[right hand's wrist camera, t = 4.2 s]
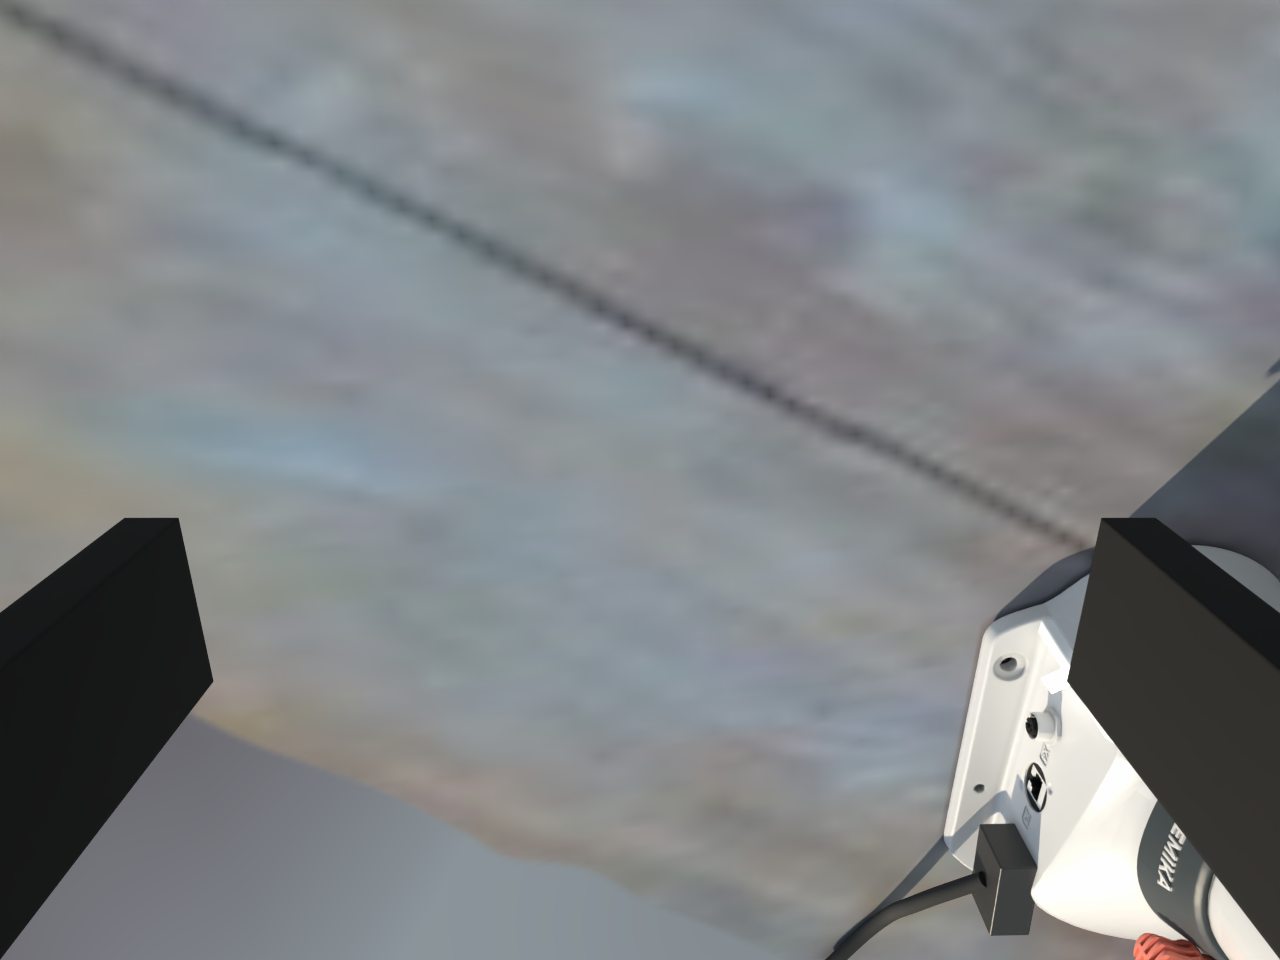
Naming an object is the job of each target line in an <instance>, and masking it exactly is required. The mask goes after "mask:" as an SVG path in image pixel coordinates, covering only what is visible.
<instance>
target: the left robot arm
mask: <svg viewBox="0 0 1280 960" xmlns="http://www.w3.org/2000/svg"><path fill="white" fill-rule="evenodd" d="M1192 546H1193V547H1194V548H1195V549H1197V550H1198V551H1199V552H1201V553H1202V554H1203V555H1205V556H1206V557H1207V558H1209V559H1210V560H1211V561H1212V562H1214V563H1215V564H1216V565H1218V566H1219V567H1220V568H1222V569H1223V570H1224V571H1226V572H1227V573H1228V574H1230V575H1231V576H1232V577H1233V578H1235V579H1236V580H1237V581H1239V582H1240V583H1241V584H1243V585H1244V586H1245V587H1247V588H1248V589H1249V590H1250V591H1252V592H1253V593H1254V594H1256V595H1257V596H1258V597H1260V598H1261V599H1262V600H1264V601H1265V602H1266V603H1268V604H1269V605H1270V606H1271V607H1273V608H1274V609H1275V610H1277V611H1278V612H1279V613H1280V581H1279V580H1278V579H1277V578H1276V577H1275V576H1274V575H1273V574H1272V573H1271V572H1270V571H1268V570H1267V569H1266V568H1265V567H1263V566H1262V565H1260V564H1259V563H1257V562H1255V561H1254V560H1252V559H1250V558H1248V557H1246V556H1243V555H1241V554H1238V553H1235V552H1232V551H1229V550H1225V549H1222V548H1216V547H1211V546H1202V545H1192ZM1088 579H1089V574H1088V575H1086V576H1085V577H1083V578H1082V579H1080V580H1079V581H1077V582H1076V583H1075V584H1073V585H1072V586H1070V587H1069V588H1068V589H1066V590H1065V591H1063V592H1062V593H1061V594H1059V595H1058V596H1056V597H1054V598H1053V599H1051V600H1049V601H1047V602H1045V603H1043V604H1040V605H1036V606H1033V607H1030V608H1026V609H1023V610H1020V611H1017V612H1014V613H1011V614H1008V615H1006V616H1004V617H1001V618H1000V619H998V620H996V621H994V622H993V623H992V624H991V625H990V626H989V627H988V628H987V629H986V631H985V633H984V636H983V640H982V644H981V649H980V654H979V659H978V664H977V669H976V674H975V679H974V684H973V689H972V694H971V699H970V704H969V709H968V714H967V719H966V724H965V729H964V734H963V739H962V744H961V749H960V754H959V759H958V764H957V769H956V774H955V779H954V784H953V789H952V794H951V799H950V804H949V809H948V814H947V819H946V824H945V830H944V841H945V843H946V845H947V847H948V848H949V850H950V852H951V853H952V855H953V856H955V857H956V858H957V859H958V860H959V861H960V862H961V863H962V864H964V865H965V866H966V867H968V868H969V869H971V870H972V871H973V873H972V874H971V875H968V876H965V877H962V878H959V879H957V880H954V881H951V882H948V883H945V884H942V885H939V886H936V887H933V888H931V889H928V890H925V891H923V892H920V893H918V894H915V895H913V896H910V897H908V898H905V899H902V900H900V901H897V902H895V903H892V904H891V905H889V906H887V907H886V908H884V909H883V910H881V911H880V912H878V913H877V914H876V915H874V916H873V917H872V918H871V919H869V920H868V921H867V922H866V923H864V924H863V925H862V926H861V927H860V928H859V929H858V930H856V931H855V932H854V933H853V934H852V935H851V936H850V937H849V938H848V939H847V940H846V941H845V942H844V943H843V944H841V945H840V946H839V947H838V948H837V949H836V950H835V951H834V952H833V953H832V954H831V955H830V956H829V957H828V958H827V959H825V960H847V959H848V958H849V957H851V956H852V955H853V954H854V953H855V952H856V951H857V950H858V949H859V948H860V947H861V946H862V945H863V944H865V943H866V942H867V941H868V940H869V939H870V938H871V937H873V936H874V935H875V934H876V933H878V932H879V931H880V930H882V929H883V928H884V927H886V926H887V925H889V924H890V923H892V922H893V921H895V920H897V919H899V918H902V917H904V916H907V915H910V914H913V913H916V912H919V911H921V910H924V909H927V908H929V907H932V906H935V905H938V904H941V903H944V902H947V901H950V900H953V899H956V898H959V897H962V896H965V895H968V894H971V893H972V895H973V897H974V900H975V902H976V904H977V907H978V909H979V911H980V913H981V916H982V918H983V920H984V923H985V925H986V927H987V930H988V932H989V934H990V935H991V936H1000V935H1028V934H1029V931H1030V925H1031V920H1032V914H1033V909H1034V904H1036V905H1037V906H1039V907H1040V908H1041V909H1043V910H1044V911H1045V912H1047V913H1049V914H1050V915H1052V916H1054V917H1056V918H1058V919H1060V920H1062V921H1065V922H1067V923H1069V924H1072V925H1074V926H1077V927H1080V928H1083V929H1086V930H1090V931H1093V932H1097V933H1101V934H1105V935H1110V936H1115V937H1121V938H1127V939H1133V940H1137V941H1136V944H1135V948H1134V957H1136V960H1280V959H1279V958H1278V957H1277V955H1276V954H1275V953H1274V951H1273V950H1272V949H1271V947H1270V946H1269V945H1268V943H1267V942H1266V941H1265V940H1264V938H1263V937H1262V936H1261V934H1260V933H1259V932H1258V930H1257V929H1256V928H1255V927H1254V925H1253V924H1252V923H1251V921H1250V920H1249V919H1248V917H1247V916H1246V915H1245V913H1244V912H1243V911H1242V910H1241V908H1240V907H1239V906H1238V904H1237V903H1236V902H1235V900H1234V899H1233V898H1232V897H1231V895H1230V894H1229V893H1228V891H1227V890H1226V889H1225V887H1224V886H1223V885H1222V883H1221V882H1220V881H1219V880H1218V878H1217V877H1216V876H1215V874H1214V873H1213V872H1212V870H1211V869H1210V868H1209V866H1208V865H1207V864H1206V863H1205V861H1204V860H1203V859H1202V857H1201V856H1200V855H1199V853H1198V852H1197V851H1196V850H1195V848H1194V847H1193V846H1192V844H1191V843H1190V842H1189V840H1188V839H1187V838H1186V836H1185V835H1184V834H1183V833H1182V831H1181V830H1180V829H1179V827H1178V826H1177V825H1176V823H1175V822H1174V821H1173V820H1172V818H1171V817H1170V816H1169V814H1168V813H1167V812H1166V810H1165V809H1164V808H1163V806H1162V805H1161V804H1160V803H1159V801H1158V800H1157V799H1156V797H1155V796H1154V795H1153V793H1152V792H1151V791H1150V790H1149V788H1148V787H1147V786H1146V784H1145V783H1144V782H1143V780H1142V779H1141V778H1140V776H1139V775H1138V774H1137V773H1136V771H1135V770H1134V769H1133V767H1132V766H1131V765H1130V763H1129V762H1128V761H1127V760H1126V758H1125V757H1124V756H1123V754H1122V753H1121V752H1120V750H1119V749H1118V748H1117V746H1116V745H1115V744H1114V743H1113V741H1112V740H1111V739H1110V737H1109V736H1108V735H1107V733H1106V732H1105V731H1104V729H1103V728H1102V727H1101V726H1100V724H1099V723H1098V722H1097V720H1096V719H1095V718H1094V716H1093V715H1092V714H1091V713H1090V711H1089V710H1088V709H1087V707H1086V706H1085V705H1084V703H1083V702H1082V701H1081V699H1080V698H1079V697H1078V696H1077V694H1076V693H1075V692H1074V690H1073V689H1072V688H1071V686H1070V685H1069V684H1068V683H1067V677H1068V673H1069V668H1070V663H1071V659H1072V654H1073V649H1074V644H1075V640H1076V635H1077V630H1078V626H1079V621H1080V616H1081V612H1082V607H1083V602H1084V598H1085V593H1086V588H1087V584H1088ZM1008 657H1012V658H1011V660H1010V661H1009V662H1007V663H1004V664H1001V662H1002V661H1003V660H1004V659H1005V658H1008ZM1195 945H1196V946H1197V947H1198V948H1200V949H1201V951H1202V952H1203V954H1201V953H1200V951H1199V949H1198V948H1197V947H1196V946H1195Z"/></svg>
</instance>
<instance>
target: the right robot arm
mask: <svg viewBox="0 0 1280 960" xmlns="http://www.w3.org/2000/svg"><path fill="white" fill-rule="evenodd" d="M212 683H213V677H212V673H211V668H210V663H209V659H208V654H207V649H206V644H205V640H204V635H203V630H202V626H201V621H200V616H199V612H198V607H197V602H196V598H195V593H194V588H193V584H192V579H191V574H190V570H189V565H188V560H187V556H186V551H185V546H184V542H183V537H182V532H181V528H180V523H179V518H124V519H123V520H121V521H120V522H119V523H117V524H116V525H115V526H113V527H112V528H111V529H109V530H108V531H107V532H106V533H104V534H103V535H102V536H100V537H99V538H98V539H96V540H95V541H94V542H92V543H91V544H90V545H88V546H87V547H86V548H85V549H83V550H82V551H81V552H79V553H78V554H77V555H75V556H74V557H73V558H71V559H70V560H69V561H68V562H66V563H65V564H64V565H62V566H61V567H60V568H58V569H57V570H56V571H54V572H53V573H52V574H50V575H49V576H48V577H47V578H45V579H44V580H43V581H41V582H40V583H39V584H37V585H36V586H35V587H33V588H32V589H31V590H30V591H28V592H27V593H26V594H24V595H23V596H22V597H20V598H19V599H18V600H16V601H15V602H14V603H12V604H11V605H10V606H9V607H7V608H6V609H5V610H3V611H2V612H1V613H0V959H1V958H2V957H3V955H4V954H5V953H6V951H7V950H8V949H9V947H10V946H11V945H12V943H13V942H14V941H15V939H16V938H17V937H18V936H19V934H20V933H21V932H22V930H23V929H24V928H25V926H26V925H27V924H28V923H29V921H30V920H31V919H32V917H33V916H34V915H35V913H36V912H37V911H38V909H39V908H40V907H41V906H42V904H43V903H44V902H45V900H46V899H47V898H48V897H49V895H50V894H51V893H52V891H53V890H54V889H55V887H56V886H57V885H58V883H59V882H60V881H61V879H62V878H63V877H64V876H65V874H66V873H67V872H68V870H69V869H70V868H71V866H72V865H73V864H74V863H75V861H76V860H77V859H78V857H79V856H80V855H81V853H82V852H83V851H84V850H85V848H86V847H87V846H88V844H89V843H90V842H91V840H92V839H93V838H94V836H95V835H96V834H97V833H98V831H99V830H100V829H101V827H102V826H103V825H104V823H105V822H106V821H107V819H108V818H109V817H110V816H111V814H112V813H113V812H114V810H115V809H116V808H117V806H118V805H119V804H120V803H121V801H122V800H123V799H124V797H125V796H126V795H127V793H128V792H129V791H130V790H131V788H132V787H133V786H134V784H135V783H136V782H137V780H138V779H139V778H140V776H141V775H142V774H143V773H144V771H145V770H146V769H147V767H148V766H149V765H150V763H151V762H152V761H153V760H154V758H155V757H156V756H157V754H158V753H159V752H160V750H161V749H162V748H163V746H164V745H165V744H166V743H167V741H168V740H169V739H170V737H171V736H172V735H173V733H174V732H175V731H176V729H177V728H178V727H179V726H180V724H181V723H182V722H183V720H184V719H185V718H186V716H187V715H188V714H189V713H190V711H191V710H192V709H193V707H194V706H195V705H196V703H197V702H198V701H199V699H200V698H201V697H202V696H203V694H204V693H205V692H206V690H207V689H208V688H209V686H210V685H211V684H212ZM1067 683H1068V684H1069V685H1070V686H1071V688H1072V689H1073V690H1074V692H1075V693H1076V694H1077V696H1078V697H1079V698H1080V699H1081V701H1082V702H1083V703H1084V705H1085V706H1086V707H1087V709H1088V710H1089V711H1090V713H1091V714H1092V715H1093V716H1094V718H1095V719H1096V720H1097V722H1098V723H1099V724H1100V726H1101V727H1102V728H1103V729H1104V731H1105V732H1106V733H1107V735H1108V736H1109V737H1110V739H1111V740H1112V741H1113V743H1114V744H1115V745H1116V746H1117V748H1118V749H1119V750H1120V752H1121V753H1122V754H1123V756H1124V757H1125V758H1126V760H1127V761H1128V762H1129V763H1130V765H1131V766H1132V767H1133V769H1134V770H1135V771H1136V773H1137V774H1138V775H1139V776H1140V778H1141V779H1142V780H1143V782H1144V783H1145V784H1146V786H1147V787H1148V788H1149V790H1150V791H1151V792H1152V793H1153V795H1154V796H1155V797H1156V799H1157V800H1158V801H1159V803H1160V804H1161V805H1162V806H1163V808H1164V809H1165V810H1166V812H1167V813H1168V814H1169V816H1170V817H1171V818H1172V820H1173V821H1174V822H1175V823H1176V825H1177V826H1178V827H1179V829H1180V830H1181V831H1182V833H1183V834H1184V835H1185V836H1186V838H1187V839H1188V840H1189V842H1190V843H1191V844H1192V846H1193V847H1194V848H1195V850H1196V851H1197V852H1198V853H1199V855H1200V856H1201V857H1202V859H1203V860H1204V861H1205V863H1206V864H1207V865H1208V866H1209V868H1210V869H1211V870H1212V872H1213V873H1214V874H1215V876H1216V877H1217V878H1218V880H1219V881H1220V882H1221V883H1222V885H1223V886H1224V887H1225V889H1226V890H1227V891H1228V893H1229V894H1230V895H1231V897H1232V898H1233V899H1234V900H1235V902H1236V903H1237V904H1238V906H1239V907H1240V908H1241V910H1242V911H1243V912H1244V913H1245V915H1246V916H1247V917H1248V919H1249V920H1250V921H1251V923H1252V924H1253V925H1254V927H1255V928H1256V929H1257V930H1258V932H1259V933H1260V934H1261V936H1262V937H1263V938H1264V940H1265V941H1266V942H1267V943H1268V945H1269V946H1270V947H1271V949H1272V950H1273V951H1274V953H1275V954H1276V955H1277V957H1278V958H1279V959H1280V613H1279V612H1278V611H1277V610H1275V609H1274V608H1273V607H1271V606H1270V605H1269V604H1268V603H1266V602H1265V601H1264V600H1262V599H1261V598H1260V597H1258V596H1257V595H1256V594H1254V593H1253V592H1252V591H1250V590H1249V589H1248V588H1247V587H1245V586H1244V585H1243V584H1241V583H1240V582H1239V581H1237V580H1236V579H1235V578H1233V577H1232V576H1231V575H1230V574H1228V573H1227V572H1226V571H1224V570H1223V569H1222V568H1220V567H1219V566H1218V565H1216V564H1215V563H1214V562H1212V561H1211V560H1210V559H1209V558H1207V557H1206V556H1205V555H1203V554H1202V553H1201V552H1199V551H1198V550H1197V549H1195V548H1194V547H1193V546H1192V545H1190V544H1189V543H1188V542H1186V541H1185V540H1184V539H1182V538H1181V537H1180V536H1178V535H1177V534H1176V533H1174V532H1173V531H1172V530H1171V529H1169V528H1168V527H1167V526H1165V525H1164V524H1163V523H1161V522H1160V521H1159V520H1157V519H1156V518H1101V523H1100V528H1099V532H1098V537H1097V542H1096V546H1095V551H1094V556H1093V560H1092V565H1091V570H1090V574H1089V579H1088V584H1087V588H1086V593H1085V598H1084V602H1083V607H1082V612H1081V616H1080V621H1079V626H1078V630H1077V635H1076V640H1075V644H1074V649H1073V654H1072V659H1071V663H1070V668H1069V673H1068V677H1067Z"/></svg>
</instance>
